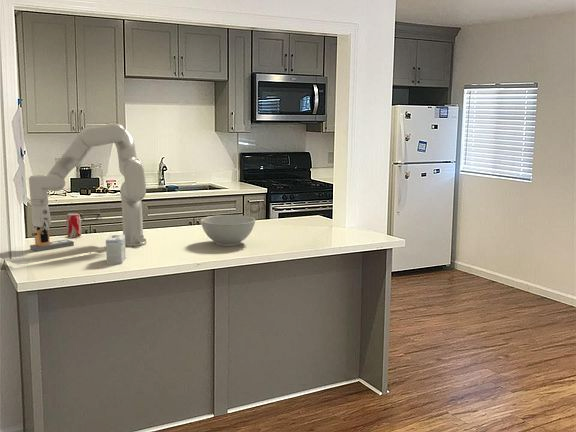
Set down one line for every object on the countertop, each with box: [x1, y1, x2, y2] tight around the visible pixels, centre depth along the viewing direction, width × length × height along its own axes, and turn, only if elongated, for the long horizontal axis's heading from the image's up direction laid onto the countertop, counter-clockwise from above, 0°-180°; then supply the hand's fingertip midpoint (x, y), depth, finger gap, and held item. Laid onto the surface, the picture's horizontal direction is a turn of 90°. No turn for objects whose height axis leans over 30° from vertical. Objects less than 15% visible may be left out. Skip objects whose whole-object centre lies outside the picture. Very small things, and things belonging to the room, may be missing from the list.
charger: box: [31, 228, 51, 247], centre depth 300 cm, size 4×7×8 cm, turn 136°
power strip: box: [29, 239, 75, 253], centre depth 305 cm, size 7×18×4 cm, turn 136°
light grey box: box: [105, 234, 127, 265], centre depth 285 cm, size 11×7×11 cm, turn 5°
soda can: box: [65, 212, 82, 239], centre depth 335 cm, size 7×7×12 cm
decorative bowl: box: [200, 214, 256, 247], centre depth 320 cm, size 27×27×12 cm
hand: (42, 241), depth 301 cm, fingers closed on charger, 4 cm apart
